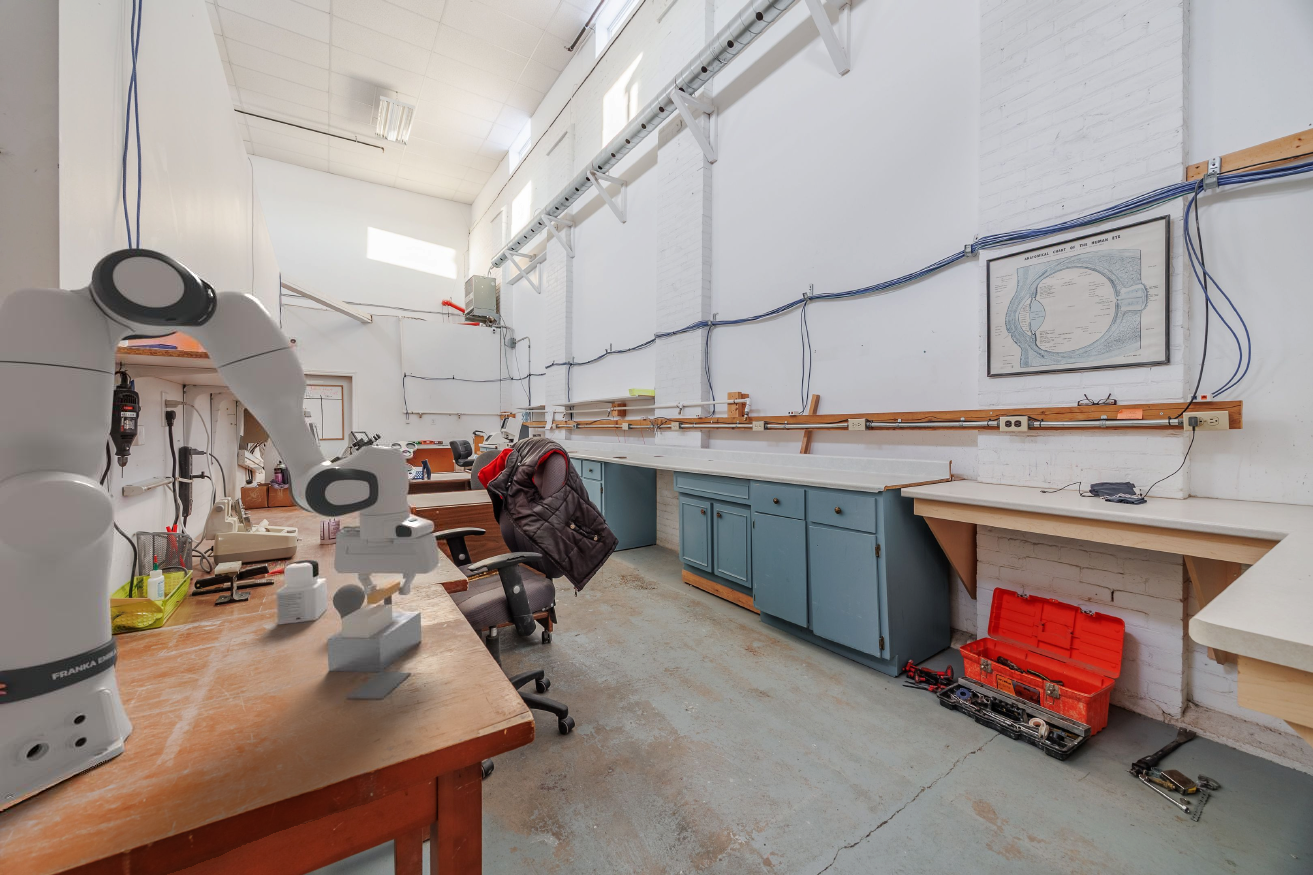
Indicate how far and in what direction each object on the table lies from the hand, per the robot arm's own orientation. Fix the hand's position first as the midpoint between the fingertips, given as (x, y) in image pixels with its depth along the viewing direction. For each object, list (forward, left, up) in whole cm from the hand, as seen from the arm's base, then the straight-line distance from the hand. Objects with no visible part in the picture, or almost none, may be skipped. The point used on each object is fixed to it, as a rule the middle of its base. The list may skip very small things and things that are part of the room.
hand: (387, 594), depth 98 cm
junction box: (-3, 0, -11) cm, 11 cm away
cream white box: (-6, 0, -5) cm, 8 cm away
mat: (-14, -8, -11) cm, 20 cm away
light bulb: (+8, +14, -11) cm, 19 cm away
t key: (0, 0, -5) cm, 5 cm away
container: (+15, +31, -11) cm, 36 cm away
